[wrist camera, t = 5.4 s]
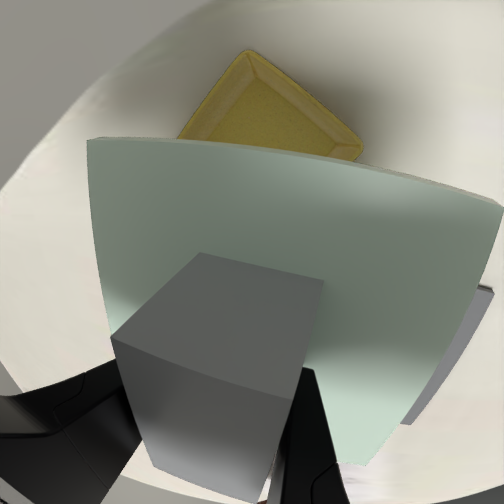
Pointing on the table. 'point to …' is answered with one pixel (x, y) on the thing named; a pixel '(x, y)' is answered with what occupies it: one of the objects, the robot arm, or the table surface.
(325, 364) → the cover
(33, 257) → the table surface
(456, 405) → the table surface
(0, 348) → the table surface
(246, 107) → the saucer
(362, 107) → the table surface
